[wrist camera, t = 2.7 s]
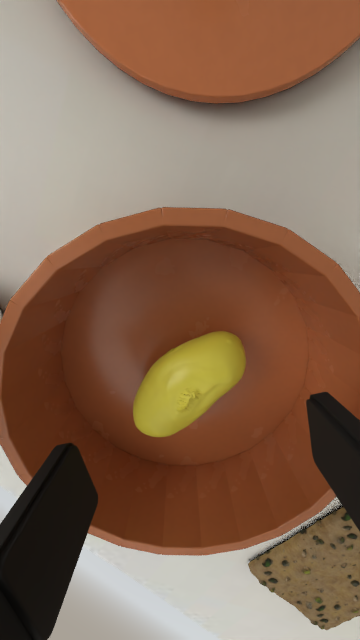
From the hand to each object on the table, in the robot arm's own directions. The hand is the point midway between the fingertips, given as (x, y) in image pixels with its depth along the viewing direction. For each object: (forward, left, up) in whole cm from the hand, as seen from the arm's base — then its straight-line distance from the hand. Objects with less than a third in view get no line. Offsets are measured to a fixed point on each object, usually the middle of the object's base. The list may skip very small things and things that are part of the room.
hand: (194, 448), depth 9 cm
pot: (0, 0, -6) cm, 6 cm away
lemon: (0, 0, -6) cm, 6 cm away
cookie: (+22, +9, -6) cm, 24 cm away
